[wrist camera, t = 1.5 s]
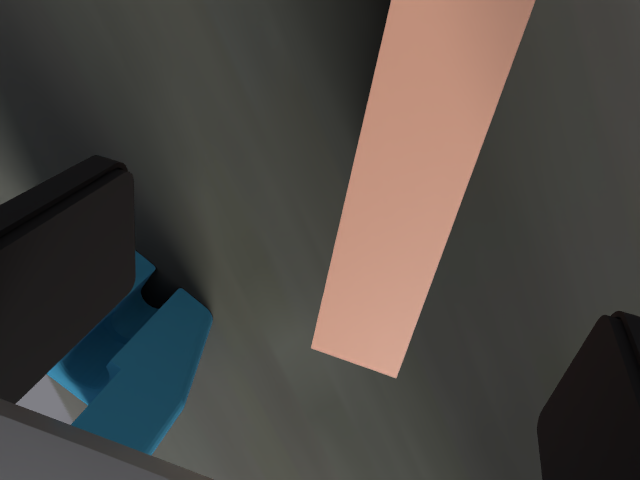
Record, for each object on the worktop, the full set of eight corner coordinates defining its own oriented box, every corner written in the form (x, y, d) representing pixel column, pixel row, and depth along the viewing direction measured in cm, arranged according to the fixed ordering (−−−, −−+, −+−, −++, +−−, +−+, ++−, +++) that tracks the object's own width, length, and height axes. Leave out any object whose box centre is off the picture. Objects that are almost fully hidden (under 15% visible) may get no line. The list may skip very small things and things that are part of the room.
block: (72, 263, 37) (-284, 524, 20) (97, 219, 34) (-291, 478, 17) (203, 367, 38) (-28, 695, 21) (237, 333, 35) (2, 678, 18)
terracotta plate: (519, -34, 21) (543, -23, 11) (432, 220, 27) (396, 377, 17) (446, -50, 21) (402, -53, 11) (378, 203, 27) (311, 348, 17)
